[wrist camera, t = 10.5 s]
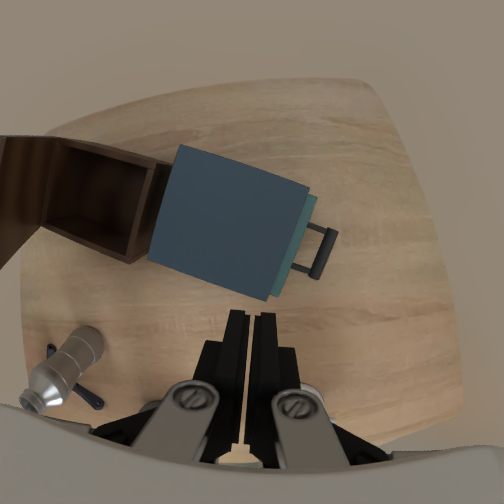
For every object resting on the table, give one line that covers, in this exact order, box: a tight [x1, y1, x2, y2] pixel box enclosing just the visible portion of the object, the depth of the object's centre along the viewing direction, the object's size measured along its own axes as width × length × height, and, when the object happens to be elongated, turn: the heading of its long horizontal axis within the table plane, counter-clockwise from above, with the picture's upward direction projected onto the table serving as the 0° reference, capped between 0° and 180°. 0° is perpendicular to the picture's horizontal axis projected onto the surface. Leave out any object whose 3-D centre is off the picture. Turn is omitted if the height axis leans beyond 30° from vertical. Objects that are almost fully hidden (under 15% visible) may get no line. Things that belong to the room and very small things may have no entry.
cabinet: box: [147, 145, 310, 302], centre depth 33 cm, size 14×13×9 cm
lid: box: [0, 135, 58, 270], centre depth 20 cm, size 15×12×6 cm
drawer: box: [270, 194, 339, 297], centre depth 33 cm, size 17×11×7 cm
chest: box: [41, 137, 173, 265], centre depth 33 cm, size 15×12×9 cm
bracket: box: [47, 344, 104, 410], centre depth 46 cm, size 14×15×3 cm
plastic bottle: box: [19, 326, 104, 415], centre depth 34 cm, size 6×7×20 cm
